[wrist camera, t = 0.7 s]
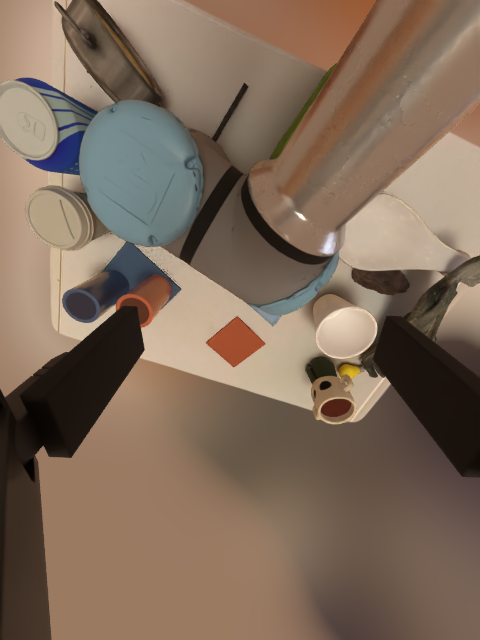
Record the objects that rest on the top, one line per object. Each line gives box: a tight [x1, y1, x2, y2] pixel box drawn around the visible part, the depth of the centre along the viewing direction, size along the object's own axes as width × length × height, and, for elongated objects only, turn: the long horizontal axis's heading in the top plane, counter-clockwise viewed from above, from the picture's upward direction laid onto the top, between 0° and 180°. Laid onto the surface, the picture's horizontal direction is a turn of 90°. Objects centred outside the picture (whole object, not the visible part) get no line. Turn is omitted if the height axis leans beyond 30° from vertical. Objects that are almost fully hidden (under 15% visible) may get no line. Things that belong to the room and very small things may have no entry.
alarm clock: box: [55, 0, 163, 107], centre depth 29 cm, size 11×5×16 cm, turn 35°
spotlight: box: [251, 306, 281, 326], centre depth 45 cm, size 5×10×7 cm
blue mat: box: [101, 242, 181, 309], centre depth 50 cm, size 13×13×1 cm
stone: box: [352, 268, 410, 295], centre depth 47 cm, size 11×2×5 cm
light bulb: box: [339, 364, 365, 379], centre depth 56 cm, size 3×6×4 cm
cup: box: [313, 294, 377, 359], centre depth 46 cm, size 10×10×11 cm
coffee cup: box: [25, 186, 110, 250], centre depth 39 cm, size 8×8×12 cm
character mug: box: [306, 358, 357, 424], centre depth 52 cm, size 11×7×13 cm, turn 150°
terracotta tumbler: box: [116, 274, 172, 328], centre depth 45 cm, size 6×6×11 cm
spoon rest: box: [339, 194, 470, 276], centre depth 41 cm, size 24×12×7 cm, turn 73°
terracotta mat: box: [206, 317, 265, 367], centre depth 55 cm, size 10×9×1 cm
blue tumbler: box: [62, 270, 129, 323], centre depth 45 cm, size 6×6×11 cm
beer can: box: [0, 78, 99, 175], centre depth 33 cm, size 8×8×16 cm
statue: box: [361, 256, 480, 378], centre depth 45 cm, size 10×6×30 cm
